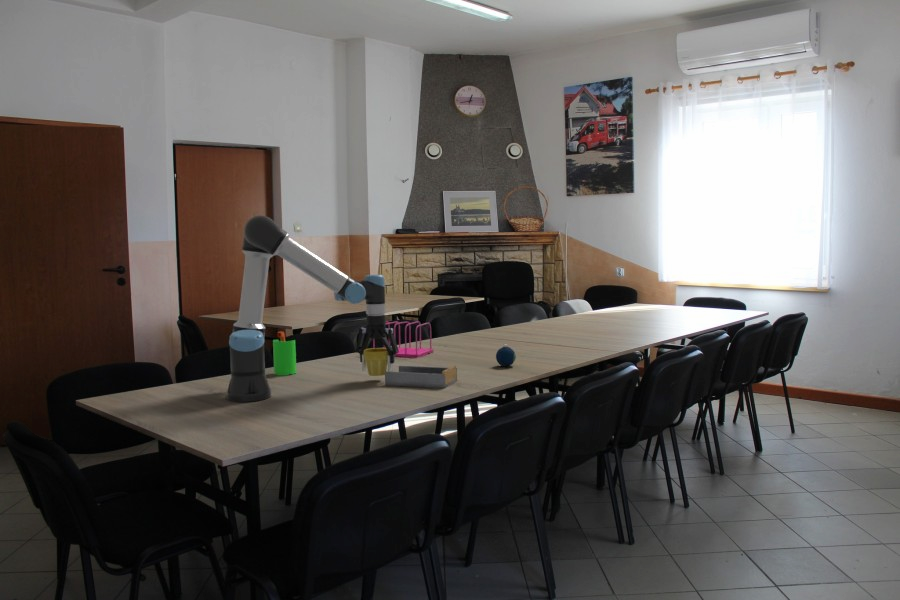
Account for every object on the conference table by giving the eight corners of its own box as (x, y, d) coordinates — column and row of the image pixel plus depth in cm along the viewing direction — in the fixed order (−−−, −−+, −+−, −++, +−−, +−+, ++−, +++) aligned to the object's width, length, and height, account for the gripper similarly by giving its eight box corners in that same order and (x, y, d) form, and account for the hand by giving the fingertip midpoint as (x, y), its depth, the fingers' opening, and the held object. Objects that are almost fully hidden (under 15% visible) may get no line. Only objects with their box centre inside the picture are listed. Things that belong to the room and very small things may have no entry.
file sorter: (388, 350, 355) (387, 319, 353) (433, 352, 345) (433, 320, 343) (371, 355, 339) (370, 323, 338) (417, 358, 329) (417, 324, 327)
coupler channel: (444, 388, 259) (444, 372, 259) (385, 384, 268) (384, 369, 267) (457, 380, 273) (456, 365, 272) (400, 378, 281) (399, 363, 280)
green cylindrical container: (298, 372, 299) (296, 329, 297) (292, 375, 291) (290, 332, 289) (277, 372, 299) (275, 330, 298) (270, 375, 291) (269, 332, 290)
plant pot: (395, 372, 279) (394, 348, 278) (382, 377, 269) (381, 352, 268) (372, 371, 283) (372, 347, 282) (359, 376, 274) (358, 351, 273)
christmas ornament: (510, 368, 296) (510, 345, 296) (492, 367, 301) (492, 343, 300) (519, 365, 303) (518, 342, 303) (501, 364, 308) (501, 341, 307)
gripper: (406, 314, 274) (408, 370, 276) (353, 313, 281) (355, 368, 283) (398, 316, 267) (400, 374, 269) (345, 315, 274) (346, 371, 276)
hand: (377, 371), depth 276 cm, fingers closed on plant pot, 10 cm apart
